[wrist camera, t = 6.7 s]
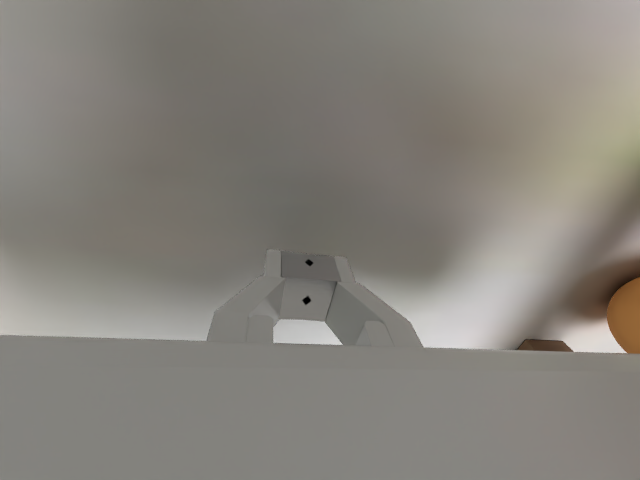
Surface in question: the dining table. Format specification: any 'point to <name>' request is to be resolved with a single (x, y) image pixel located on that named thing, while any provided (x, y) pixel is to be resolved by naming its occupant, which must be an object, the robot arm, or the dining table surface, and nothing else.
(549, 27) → the dining table surface
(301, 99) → the dining table surface
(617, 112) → the dining table surface
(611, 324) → the ball
